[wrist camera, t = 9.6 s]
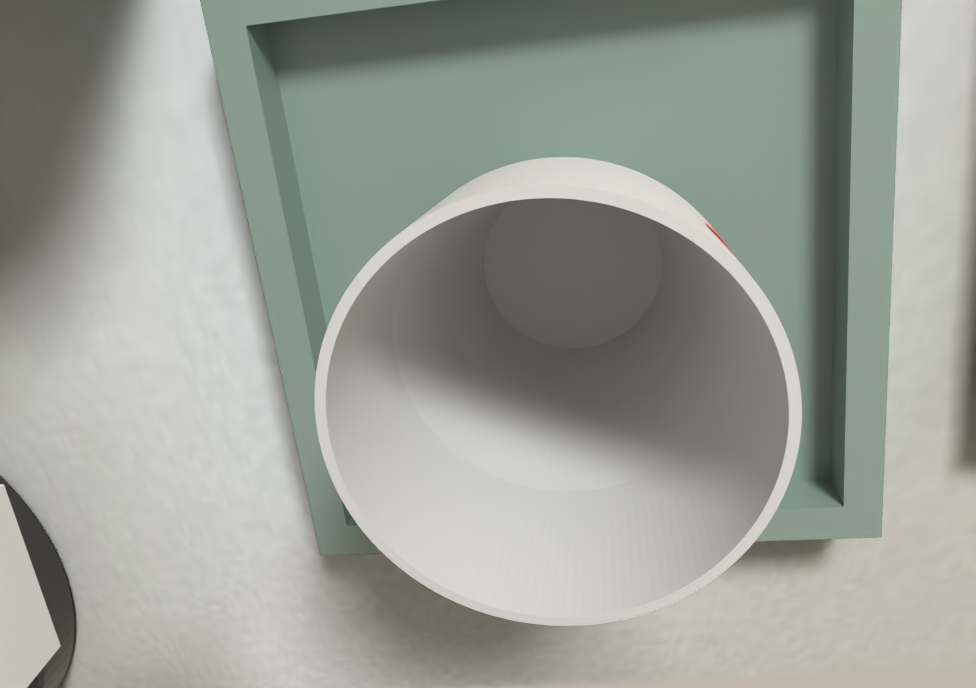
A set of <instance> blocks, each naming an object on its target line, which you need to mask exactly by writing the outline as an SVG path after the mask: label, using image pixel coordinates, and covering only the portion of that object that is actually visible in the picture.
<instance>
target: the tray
mask: <svg viewBox="0 0 976 688" xmlns="http://www.w3.org/2000/svg"><path fill="white" fill-rule="evenodd" d="M200 1H201V6H202V11H203V15H204V20H205V25H206V29H207V34H208V38H209V43H210V48H211V52H212V57H213V62H214V66H215V71H216V75H217V80H218V85H219V89H220V94H221V98H222V103H223V108H224V112H225V117H226V122H227V126H228V131H229V135H230V140H231V145H232V149H233V154H234V158H235V163H236V168H237V172H238V177H239V182H240V186H241V191H242V195H243V200H244V205H245V209H246V214H247V219H248V223H249V228H250V232H251V237H252V242H253V246H254V251H255V255H256V260H257V265H258V269H259V274H260V279H261V283H262V288H263V292H264V297H265V302H266V306H267V311H268V315H269V320H270V325H271V329H272V334H273V339H274V343H275V348H276V352H277V357H278V362H279V366H280V371H281V375H282V380H283V385H284V389H285V394H286V399H287V403H288V408H289V412H290V417H291V422H292V426H293V431H294V436H295V440H296V445H297V449H298V454H299V459H300V463H301V468H302V472H303V477H304V482H305V486H306V491H307V496H308V500H309V505H310V509H311V514H312V519H313V523H314V528H315V532H316V537H317V542H318V546H319V551H320V556H324V555H354V554H383V553H382V552H381V551H380V550H379V549H378V548H377V547H376V546H375V545H374V544H373V543H372V541H371V540H370V539H369V538H368V537H367V536H366V535H365V533H364V532H363V531H362V530H361V528H360V527H359V526H358V524H357V523H356V522H355V520H354V519H353V517H352V516H351V514H350V513H349V511H348V510H347V508H346V507H345V505H344V503H343V501H342V500H341V498H340V496H339V494H338V492H337V490H336V488H335V486H334V484H333V482H332V480H331V477H330V475H329V472H328V470H327V467H326V464H325V461H324V458H323V454H322V451H321V447H320V442H319V438H318V432H317V426H316V418H315V399H314V398H315V378H316V370H317V364H318V359H319V354H320V350H321V346H322V342H323V339H324V336H325V333H326V330H327V328H328V325H329V322H330V320H331V318H332V315H333V313H334V311H335V309H336V307H337V305H338V303H339V302H340V300H341V298H342V296H343V295H344V293H345V292H346V290H347V288H348V287H349V285H350V284H351V282H352V281H353V280H354V278H355V277H356V276H357V274H358V273H359V272H360V271H361V269H362V268H363V267H364V266H365V265H366V264H367V262H368V261H369V260H370V259H371V258H372V257H373V256H374V255H375V254H376V253H377V252H378V251H379V250H380V249H381V248H382V247H383V246H385V245H386V244H387V243H388V242H389V241H390V240H392V239H393V238H394V237H395V236H397V235H398V234H399V233H400V232H402V231H403V230H404V229H406V228H407V227H408V226H410V225H411V224H412V223H413V222H415V221H416V220H417V219H419V218H420V217H421V216H423V215H424V214H425V213H427V212H428V211H429V210H430V209H432V208H433V207H434V206H436V205H437V204H438V203H440V202H441V201H442V200H443V199H445V198H446V197H447V196H449V195H450V194H451V193H453V192H454V191H455V190H457V189H458V188H460V187H461V186H463V185H465V184H466V183H468V182H470V181H471V180H473V179H475V178H477V177H479V176H481V175H483V174H486V173H488V172H490V171H493V170H495V169H498V168H501V167H504V166H507V165H510V164H514V163H518V162H522V161H527V160H533V159H540V158H550V157H577V158H588V159H594V160H600V161H605V162H609V163H613V164H617V165H620V166H623V167H626V168H629V169H632V170H635V171H637V172H640V173H642V174H644V175H646V176H648V177H650V178H652V179H654V180H656V181H658V182H660V183H661V184H663V185H665V186H666V187H668V188H670V189H671V190H673V191H674V192H675V193H677V194H678V195H680V196H681V197H682V198H683V199H685V200H686V201H687V202H688V203H689V204H690V205H692V206H693V207H694V208H695V209H696V210H697V211H698V212H699V213H700V214H701V215H702V216H703V217H704V218H705V219H706V220H707V222H708V223H709V224H710V225H711V226H712V228H713V229H714V230H715V231H716V233H717V234H718V235H719V236H720V238H721V239H722V240H723V241H724V243H725V244H726V245H727V246H728V248H729V249H730V250H731V252H732V253H733V254H734V255H735V257H736V258H737V259H738V260H739V262H740V263H741V264H742V265H743V267H744V268H745V269H746V270H747V272H748V273H749V274H750V275H751V277H752V278H753V279H754V280H755V282H756V283H757V284H758V286H759V287H760V288H761V290H762V291H763V293H764V294H765V296H766V297H767V299H768V300H769V302H770V303H771V305H772V307H773V309H774V310H775V312H776V314H777V316H778V318H779V320H780V322H781V324H782V326H783V328H784V330H785V333H786V335H787V338H788V340H789V343H790V346H791V349H792V352H793V355H794V359H795V362H796V366H797V371H798V376H799V382H800V389H801V400H802V425H801V436H800V443H799V449H798V454H797V459H796V463H795V466H794V470H793V473H792V476H791V479H790V482H789V484H788V487H787V489H786V492H785V494H784V496H783V498H782V500H781V502H780V504H779V506H778V508H777V510H776V512H775V513H774V515H773V517H772V518H771V520H770V521H769V523H768V525H767V526H766V527H765V529H764V530H763V532H762V533H761V534H760V536H759V537H758V538H757V539H756V541H785V540H815V539H846V538H877V537H881V536H882V510H883V484H884V457H885V431H886V405H887V379H888V352H889V326H890V300H891V273H892V247H893V221H894V195H895V168H896V142H897V116H898V89H899V63H900V37H901V10H902V0H200Z"/></svg>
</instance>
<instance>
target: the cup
mask: <svg viewBox="0 0 976 688" xmlns="http://www.w3.org/2000/svg"><path fill="white" fill-rule="evenodd" d="M314 399H315V418H316V426H317V432H318V438H319V442H320V447H321V451H322V454H323V458H324V461H325V464H326V467H327V470H328V472H329V475H330V477H331V480H332V482H333V484H334V486H335V488H336V490H337V492H338V494H339V496H340V498H341V500H342V501H343V503H344V505H345V507H346V508H347V510H348V511H349V513H350V514H351V516H352V517H353V519H354V520H355V522H356V523H357V524H358V526H359V527H360V528H361V530H362V531H363V532H364V533H365V535H366V536H367V537H368V538H369V539H370V540H371V541H372V543H373V544H374V545H375V546H376V547H377V548H378V549H379V550H380V551H381V552H382V553H383V554H384V555H385V556H386V557H387V558H389V559H390V560H391V561H392V562H393V563H394V564H395V565H397V566H398V567H399V568H400V569H401V570H403V571H404V572H405V573H407V574H408V575H409V576H411V577H412V578H414V579H415V580H417V581H418V582H419V583H421V584H423V585H424V586H426V587H427V588H429V589H431V590H433V591H434V592H436V593H438V594H440V595H442V596H444V597H446V598H448V599H450V600H452V601H454V602H456V603H458V604H461V605H463V606H465V607H468V608H471V609H473V610H476V611H479V612H482V613H485V614H488V615H492V616H495V617H499V618H503V619H507V620H512V621H517V622H523V623H530V624H538V625H550V626H582V625H594V624H602V623H609V622H615V621H620V620H624V619H629V618H633V617H636V616H640V615H643V614H647V613H649V612H652V611H655V610H658V609H660V608H663V607H666V606H668V605H670V604H672V603H675V602H677V601H679V600H681V599H683V598H685V597H687V596H689V595H690V594H692V593H694V592H696V591H697V590H699V589H701V588H702V587H704V586H705V585H707V584H708V583H710V582H711V581H713V580H714V579H715V578H717V577H718V576H719V575H721V574H722V573H723V572H724V571H726V570H727V569H728V568H729V567H730V566H732V565H733V564H734V563H735V562H736V561H737V560H738V559H739V558H740V557H741V556H742V555H743V554H744V553H745V552H746V551H747V550H748V549H749V548H750V546H751V545H752V544H753V543H754V542H755V541H756V539H757V538H758V537H759V536H760V534H761V533H762V532H763V530H764V529H765V527H766V526H767V525H768V523H769V521H770V520H771V518H772V517H773V515H774V513H775V512H776V510H777V508H778V506H779V504H780V502H781V500H782V498H783V496H784V494H785V492H786V489H787V487H788V484H789V482H790V479H791V476H792V473H793V470H794V466H795V463H796V459H797V454H798V449H799V443H800V436H801V425H802V400H801V389H800V382H799V376H798V371H797V366H796V362H795V359H794V355H793V352H792V349H791V346H790V343H789V340H788V338H787V335H786V333H785V330H784V328H783V326H782V324H781V322H780V320H779V318H778V316H777V314H776V312H775V310H774V309H773V307H772V305H771V303H770V302H769V300H768V299H767V297H766V296H765V294H764V293H763V291H762V290H761V288H760V287H759V286H758V284H757V283H756V282H755V280H754V279H753V278H752V277H751V275H750V274H749V273H748V272H747V270H746V269H745V268H744V267H743V265H742V264H741V263H740V262H739V260H738V259H737V258H736V257H735V255H734V254H733V253H732V252H731V250H730V249H729V248H728V246H727V245H726V244H725V243H724V241H723V240H722V239H721V238H720V236H719V235H718V234H717V233H716V231H715V230H714V229H713V228H712V226H711V225H710V224H709V223H708V222H707V220H706V219H705V218H704V217H703V216H702V215H701V214H700V213H699V212H698V211H697V210H696V209H695V208H694V207H693V206H692V205H690V204H689V203H688V202H687V201H686V200H685V199H683V198H682V197H681V196H680V195H678V194H677V193H675V192H674V191H673V190H671V189H670V188H668V187H666V186H665V185H663V184H661V183H660V182H658V181H656V180H654V179H652V178H650V177H648V176H646V175H644V174H642V173H640V172H637V171H635V170H632V169H629V168H626V167H623V166H620V165H617V164H613V163H609V162H605V161H600V160H594V159H588V158H577V157H550V158H540V159H533V160H527V161H522V162H518V163H514V164H510V165H507V166H504V167H501V168H498V169H495V170H493V171H490V172H488V173H486V174H483V175H481V176H479V177H477V178H475V179H473V180H471V181H470V182H468V183H466V184H465V185H463V186H461V187H460V188H458V189H457V190H455V191H454V192H453V193H451V194H450V195H449V196H447V197H446V198H445V199H443V200H442V201H441V202H440V203H438V204H437V205H436V206H434V207H433V208H432V209H430V210H429V211H428V212H427V213H425V214H424V215H423V216H421V217H420V218H419V219H417V220H416V221H415V222H413V223H412V224H411V225H410V226H408V227H407V228H406V229H404V230H403V231H402V232H400V233H399V234H398V235H397V236H395V237H394V238H393V239H392V240H390V241H389V242H388V243H387V244H386V245H385V246H383V247H382V248H381V249H380V250H379V251H378V252H377V253H376V254H375V255H374V256H373V257H372V258H371V259H370V260H369V261H368V262H367V264H366V265H365V266H364V267H363V268H362V269H361V271H360V272H359V273H358V274H357V276H356V277H355V278H354V280H353V281H352V282H351V284H350V285H349V287H348V288H347V290H346V292H345V293H344V295H343V296H342V298H341V300H340V302H339V303H338V305H337V307H336V309H335V311H334V313H333V315H332V318H331V320H330V322H329V325H328V328H327V330H326V333H325V336H324V339H323V342H322V346H321V350H320V354H319V359H318V364H317V370H316V378H315V398H314Z"/></svg>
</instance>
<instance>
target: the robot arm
mask: <svg viewBox="0 0 976 688" xmlns="http://www.w3.org/2000/svg"><path fill="white" fill-rule="evenodd" d="M74 629H75V626H74V611H73V603H72V598H71V593H70V589H69V585H68V582H67V579H66V575H65V573H64V570H63V567H62V565H61V562H60V560H59V558H58V555H57V553H56V551H55V549H54V547H53V545H52V543H51V541H50V539H49V538H48V536H47V534H46V532H45V531H44V529H43V528H42V526H41V524H40V523H39V521H38V520H37V518H36V517H35V516H34V514H33V513H32V512H31V510H30V509H29V507H28V506H27V505H26V504H25V502H24V501H23V500H22V499H21V498H20V496H19V495H18V494H17V493H16V492H15V491H14V490H13V488H12V487H11V486H10V485H9V484H8V483H7V482H6V481H5V480H4V479H3V478H2V477H1V476H0V688H58V687H59V686H60V684H61V682H62V680H63V678H64V676H65V674H66V671H67V668H68V666H69V663H70V659H71V655H72V650H73V643H74Z"/></svg>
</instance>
